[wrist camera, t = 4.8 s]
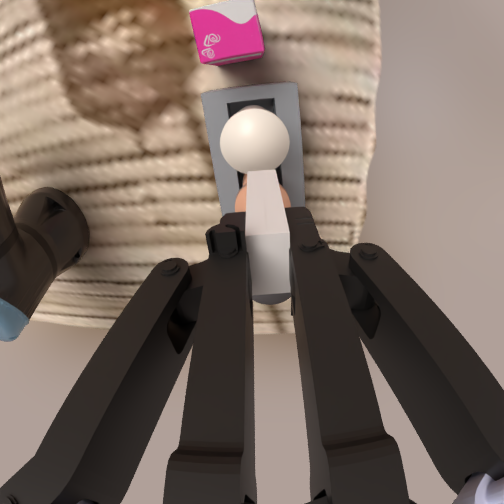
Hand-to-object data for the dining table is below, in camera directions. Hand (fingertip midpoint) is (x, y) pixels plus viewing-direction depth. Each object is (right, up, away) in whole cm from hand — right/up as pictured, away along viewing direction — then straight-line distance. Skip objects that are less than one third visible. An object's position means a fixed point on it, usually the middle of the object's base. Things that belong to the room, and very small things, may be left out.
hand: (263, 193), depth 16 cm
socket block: (0, +8, +22) cm, 23 cm away
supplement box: (-3, +22, +12) cm, 25 cm away
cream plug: (0, +10, +12) cm, 16 cm away
